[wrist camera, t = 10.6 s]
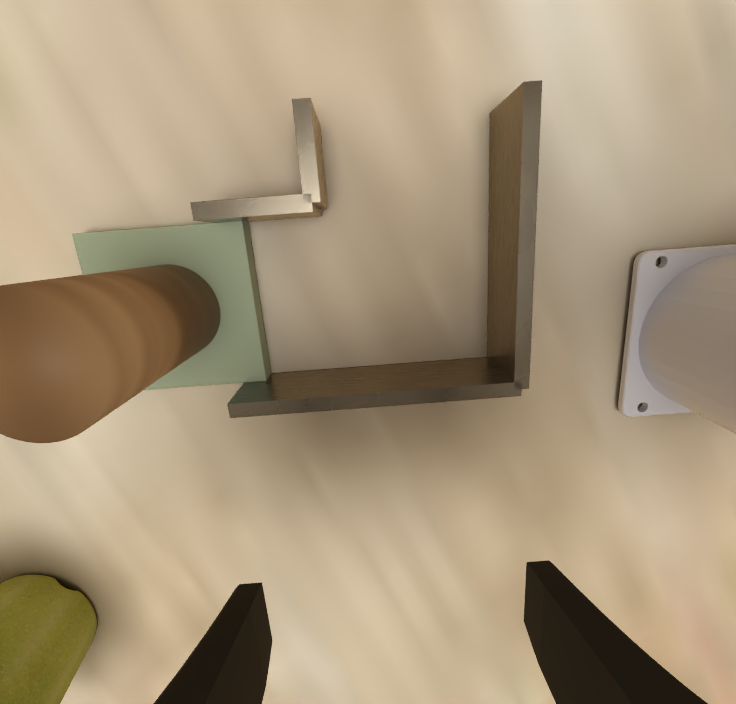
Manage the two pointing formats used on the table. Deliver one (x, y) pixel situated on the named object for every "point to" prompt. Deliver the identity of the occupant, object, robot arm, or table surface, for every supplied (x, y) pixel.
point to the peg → (94, 344)
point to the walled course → (505, 279)
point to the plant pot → (41, 638)
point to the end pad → (219, 269)
